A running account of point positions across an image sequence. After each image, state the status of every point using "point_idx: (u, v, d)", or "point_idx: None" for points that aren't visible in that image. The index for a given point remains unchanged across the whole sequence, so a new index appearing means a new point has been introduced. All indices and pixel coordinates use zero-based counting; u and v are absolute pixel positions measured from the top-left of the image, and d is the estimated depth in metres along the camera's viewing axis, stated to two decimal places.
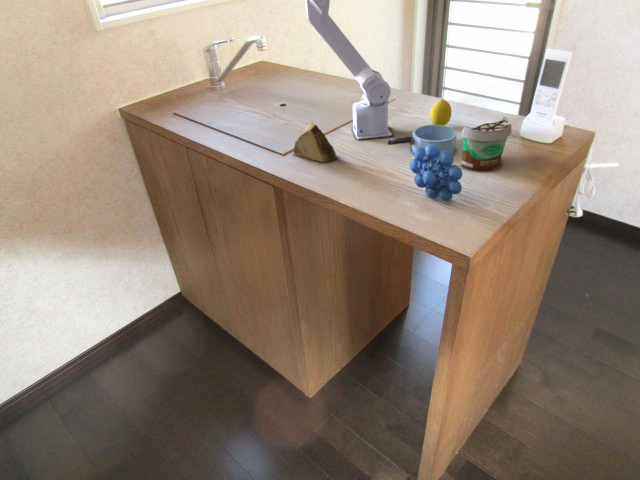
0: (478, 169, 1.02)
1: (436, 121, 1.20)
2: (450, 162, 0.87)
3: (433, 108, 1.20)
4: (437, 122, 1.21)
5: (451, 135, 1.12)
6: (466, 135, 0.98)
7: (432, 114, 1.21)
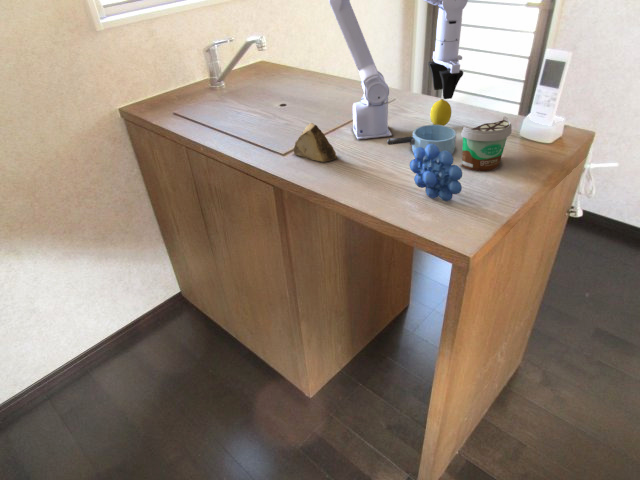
0: (478, 169, 1.02)
1: (436, 121, 1.20)
2: (450, 162, 0.87)
3: (433, 108, 1.20)
4: (437, 122, 1.21)
5: (451, 135, 1.12)
6: (466, 135, 0.98)
7: (432, 114, 1.21)
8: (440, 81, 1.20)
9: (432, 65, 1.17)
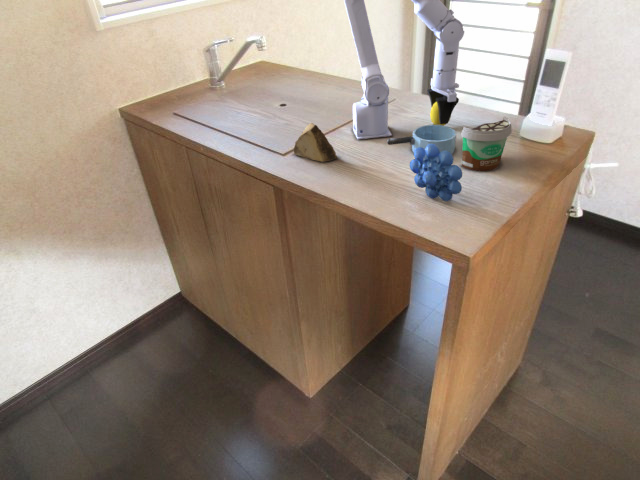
0: (478, 169, 1.02)
1: (436, 121, 1.20)
2: (450, 162, 0.87)
3: (433, 108, 1.20)
4: (437, 122, 1.21)
5: (451, 135, 1.12)
6: (466, 135, 0.98)
7: (432, 114, 1.21)
8: None
9: (431, 93, 1.21)
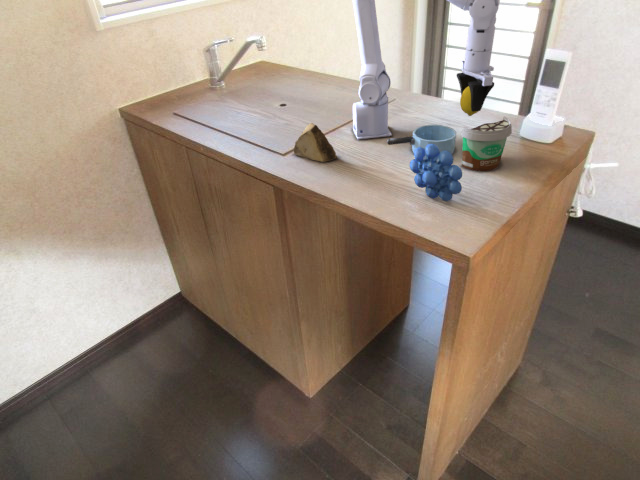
0: (478, 169, 1.02)
1: (468, 108, 1.09)
2: (450, 162, 0.87)
3: (464, 94, 1.08)
4: (469, 110, 1.09)
5: (451, 135, 1.12)
6: (466, 135, 0.98)
7: (462, 101, 1.09)
8: None
9: (461, 77, 1.09)
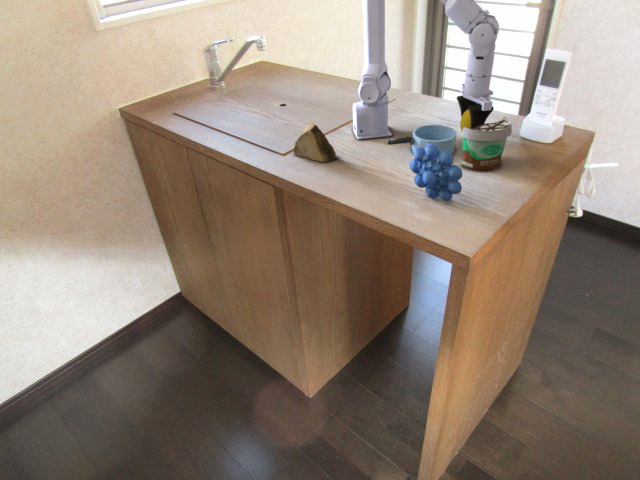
0: (478, 169, 1.02)
1: None
2: (450, 162, 0.87)
3: (464, 117, 1.11)
4: None
5: (451, 135, 1.12)
6: (466, 135, 0.98)
7: (462, 123, 1.11)
8: None
9: (461, 100, 1.12)
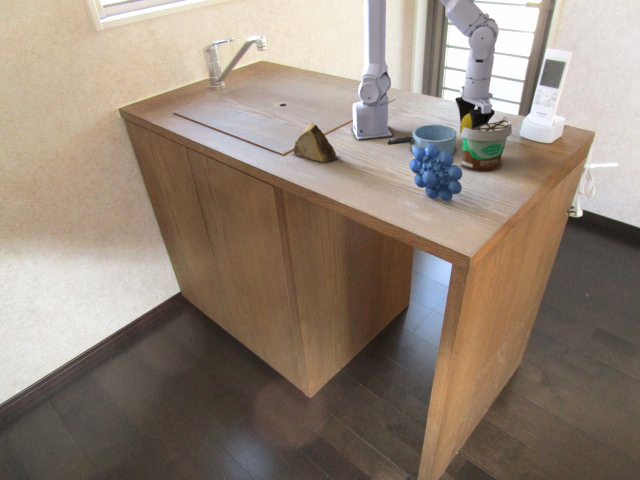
0: (478, 169, 1.02)
1: None
2: (450, 162, 0.87)
3: (464, 121, 1.11)
4: None
5: (451, 135, 1.12)
6: (466, 135, 0.98)
7: (462, 128, 1.12)
8: None
9: (460, 101, 1.13)
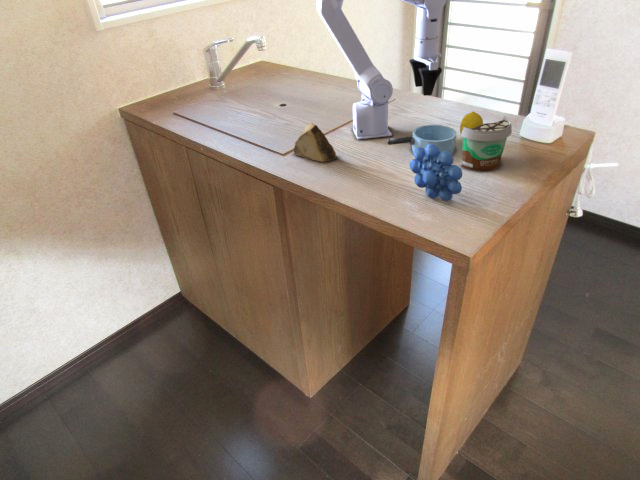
0: (478, 169, 1.02)
1: None
2: (450, 162, 0.87)
3: (464, 121, 1.11)
4: None
5: (451, 135, 1.12)
6: (466, 135, 0.98)
7: (462, 128, 1.12)
8: (421, 78, 1.23)
9: (413, 62, 1.21)
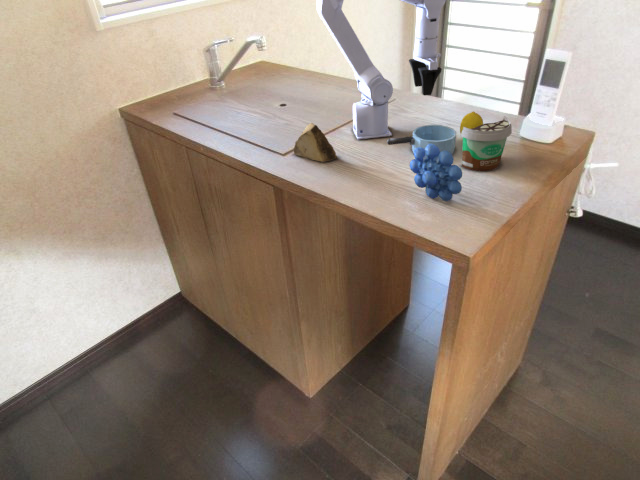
0: (478, 169, 1.02)
1: None
2: (450, 162, 0.87)
3: (464, 121, 1.11)
4: None
5: (451, 135, 1.12)
6: (466, 135, 0.98)
7: (462, 128, 1.12)
8: (421, 78, 1.23)
9: (412, 62, 1.21)
